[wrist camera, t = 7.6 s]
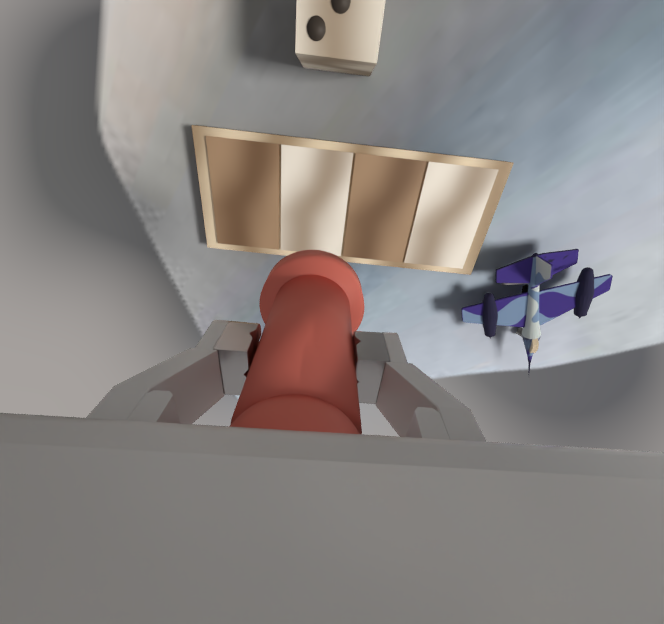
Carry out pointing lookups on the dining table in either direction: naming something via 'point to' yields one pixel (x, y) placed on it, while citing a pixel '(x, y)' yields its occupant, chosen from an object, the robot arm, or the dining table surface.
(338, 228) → the track board
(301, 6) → the die
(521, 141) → the dining table surface
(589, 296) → the toy airplane
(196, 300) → the dining table surface
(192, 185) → the dining table surface
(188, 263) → the dining table surface
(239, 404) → the pawn
